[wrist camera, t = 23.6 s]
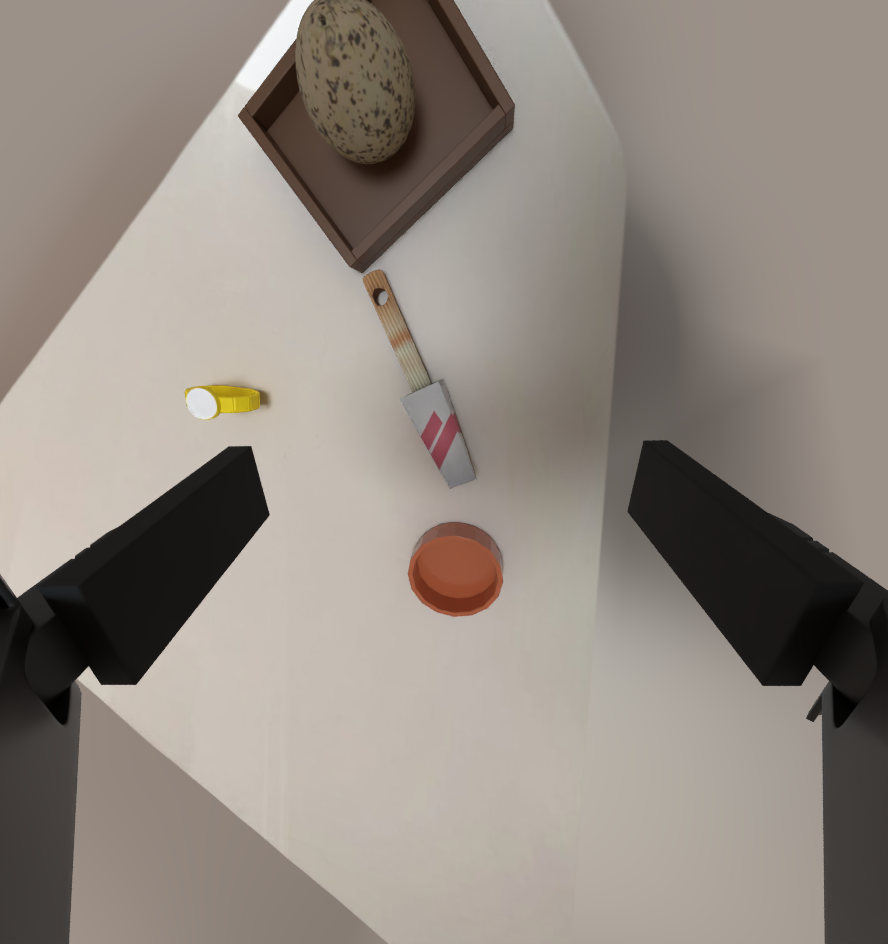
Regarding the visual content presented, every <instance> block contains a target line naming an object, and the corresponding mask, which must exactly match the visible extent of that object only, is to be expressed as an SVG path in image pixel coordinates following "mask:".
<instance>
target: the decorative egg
mask: <svg viewBox="0 0 888 944" xmlns="http://www.w3.org/2000/svg"><path fill="white" fill-rule="evenodd" d="M295 61H296V73H297V80H298V85H299V89H300V93H301V96H302V100H303V103H304V105H305V108H306V111H307V113H308V115H309V117H310V119H311V121H312V123H313V124H314V126H315V128H316V129H317V131H318V132H319V133H320V135H321V136H322V138H323V139H324V140H325V141H326V143H327V144H329V145H330V146H331V147H332V148H333V149H334V150H335V151H336V152H338V153H339V154H340V155H342V156H343V157H345V158H347V159H349V160H351V161H354V162H357V163H362V164H375V163H379V162H382V161H385V160H387V159H388V158H390V157H391V156H393V155H394V154H395V153H396V152H397V151H398V150H399V149H400V148H401V146H402V145H403V144H404V142H405V140H406V138H407V136H408V134H409V132H410V130H411V126H412V123H413V118H414V113H415V83H414V76H413V72H412V68H411V64H410V60H409V57H408V55H407V52H406V50H405V47H404V45H403V43H402V41H401V39H400V37H399V36H398V34H397V32H396V31H395V29H394V28H393V26H392V25H391V24H390V22H389V21H388V20H387V19H386V17H385V16H384V15H383V14H382V13H381V12H380V11H379V10H378V9H376V8H375V7H374V6H373V5H372V4H370V3H369V2H367V1H366V0H314V1H313V2H312V3H311V4H310V5H309V7H308V8H307V10H306V11H305V13H304V15H303V17H302V19H301V22H300V25H299V28H298V33H297V39H296V50H295Z"/></svg>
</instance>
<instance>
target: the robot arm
mask: <svg viewBox="0 0 888 944" xmlns="http://www.w3.org/2000/svg"><path fill="white" fill-rule="evenodd" d="M628 513H629V514H630V516H631V517H632V518H633V519H634V521H635V522H636V523H637V524H638V526H639V527H640V528H641V530H642V531H643V532H644V534H645V535H646V536H647V537H648V539H649V540H650V541H651V543H652V544H653V545H654V546H655V548H656V549H657V550H658V552H659V553H660V554H661V555H662V557H663V558H664V559H665V561H666V562H667V563H668V564H669V566H670V567H671V568H672V569H673V571H674V572H675V573H676V575H677V576H678V577H679V579H680V580H681V581H682V582H683V584H684V585H685V586H686V588H687V589H688V590H689V591H690V593H691V594H692V595H693V597H694V598H695V599H696V601H697V602H698V603H699V604H700V606H701V607H702V608H703V609H704V611H705V612H706V613H707V615H708V616H709V617H710V618H711V620H712V621H713V622H714V624H715V625H716V626H717V628H718V629H719V630H720V631H721V633H722V634H723V635H724V637H725V638H726V639H727V640H728V642H729V643H730V644H731V645H732V647H733V648H734V649H735V651H736V652H737V653H738V654H739V656H740V657H741V658H742V660H743V661H744V662H745V664H746V665H747V666H748V667H749V669H750V670H751V671H752V673H753V674H754V675H755V676H756V678H757V679H758V680H759V682H760V683H761V684H762V685H763V686H801V685H802V683H803V682H804V680H805V678H806V677H807V675H808V674H809V672H810V670H811V669H812V667H813V665H814V666H815V667H816V668H817V669H818V670H819V671H820V672H821V673H822V674H823V675H824V676H825V677H826V678H827V679H828V680H829V682H828V684H827V685H826V687H825V688H824V690H823V691H822V693H821V694H820V696H819V697H818V699H817V700H816V702H815V703H814V705H813V706H812V708H811V709H810V711H809V713H808V715H807V718H806V719H808V720H810V721H812V722H814V720H815V719H816V718H817V716H818V715H821V714H822V745H823V746H822V747H823V749H822V750H823V751H822V752H823V830H824V831H823V834H824V909H825V910H824V913H825V914H824V915H825V916H824V918H825V944H888V590H886V589H885V588H883V587H882V586H880V585H879V584H878V583H876V582H875V581H873V580H872V579H870V578H869V577H868V576H866V575H865V574H863V573H862V572H860V571H859V570H858V569H856V568H855V567H853V566H852V565H850V564H849V563H847V562H846V561H845V560H843V559H842V558H841V557H839V556H837V555H836V554H835V553H833V552H831V553H830V552H829V549H828V548H826V547H825V546H823V545H822V544H820V543H819V542H818V541H813V538H812V537H811V536H809V535H808V534H806V533H805V532H803V531H802V530H800V529H799V528H798V527H796V526H795V525H793V524H791V523H789V522H787V521H785V520H783V519H780V518H778V517H776V516H774V515H771V514H770V513H767V512H766V511H764V510H763V509H761V508H760V507H759V506H757V505H756V504H755V503H753V502H752V501H751V500H749V499H748V498H746V497H745V496H744V495H742V494H741V493H739V492H738V491H737V490H735V489H734V488H732V487H731V486H729V485H728V484H727V483H726V482H724V481H723V480H721V479H720V478H718V477H717V476H716V475H714V474H713V473H711V472H710V471H709V470H707V469H706V468H704V467H703V466H702V465H701V464H699V463H698V462H696V461H695V460H694V459H692V458H691V457H689V456H688V455H687V454H685V453H684V452H683V451H681V450H680V449H678V448H677V447H676V446H674V445H673V444H671V443H670V442H669V441H666V440H665V441H663V440H660V441H643V446H642V450H641V454H640V459H639V463H638V468H637V472H636V476H635V481H634V485H633V489H632V494H631V499H630V503H629V507H628ZM269 515H270V514H269V511H268V507H267V503H266V500H265V496H264V492H263V488H262V485H261V481H260V477H259V473H258V470H257V466H256V462H255V459H254V455H253V451H252V447H251V446H232V447H228V448H226V449H225V450H223V451H222V452H221V453H219V454H218V455H217V456H215V457H214V458H213V459H211V460H210V461H208V462H207V463H206V464H204V465H203V466H202V467H200V468H199V469H197V470H196V471H195V472H193V473H192V474H191V475H189V476H188V477H186V478H185V479H184V480H182V481H181V482H180V483H178V484H177V485H176V486H174V487H173V488H171V489H170V490H169V491H167V492H166V493H165V494H163V495H162V496H160V497H159V498H158V499H156V500H155V501H154V502H152V503H151V504H149V505H148V506H147V507H145V508H144V509H143V510H141V511H140V512H139V513H137V514H136V515H134V516H133V517H132V518H130V519H129V520H128V521H126V522H125V523H123V524H122V525H121V526H119V527H117V528H115V529H113V530H111V531H109V532H108V533H106V534H105V535H104V536H102V537H101V538H99V539H98V540H97V541H95V542H94V543H92V544H91V545H90V548H86V549H84V550H83V551H81V552H80V553H79V554H77V555H76V556H75V559H70V560H69V561H68V562H66V563H65V564H63V565H62V566H61V567H59V568H58V569H56V570H55V571H54V572H52V573H51V574H50V575H48V576H47V577H45V578H44V579H43V580H41V581H40V582H39V583H37V584H36V585H34V586H33V587H32V588H30V589H29V590H27V591H26V592H25V593H23V594H22V595H21V596H19V597H18V598H17V597H16V596H15V595H14V593H13V592H12V590H11V589H10V587H9V586H8V585H7V583H6V582H5V580H4V579H3V577H2V576H1V575H0V944H69V932H70V912H71V892H72V891H71V890H72V871H73V850H74V831H75V812H76V793H77V772H78V753H79V733H80V713H81V691H80V688H79V686H78V685H77V683H76V682H75V680H76V679H77V678H78V677H79V676H80V675H81V674H82V673H83V671H84V670H85V669H86V668H87V667H88V666H89V667H90V669H91V670H92V672H93V673H94V675H95V676H96V678H97V679H98V681H99V682H100V684H101V685H136V684H137V683H138V682H139V681H140V679H141V678H142V677H143V675H144V674H145V673H146V672H147V670H148V669H149V668H150V667H151V665H152V664H153V663H154V661H155V660H156V659H157V658H158V656H159V655H160V654H161V653H162V651H163V650H164V649H165V647H166V646H167V645H168V644H169V642H170V641H171V640H172V639H173V637H174V636H175V635H176V633H177V632H178V631H179V630H180V628H181V627H182V626H183V625H184V623H185V622H186V621H187V620H188V618H189V617H190V616H191V614H192V613H193V612H194V611H195V609H196V608H197V607H198V606H199V604H200V603H201V602H202V600H203V599H204V598H205V597H206V595H207V594H208V593H209V592H210V590H211V589H212V588H213V586H214V585H215V584H216V583H217V581H218V580H219V579H220V578H221V576H222V575H223V574H224V572H225V571H226V570H227V569H228V567H229V566H230V565H231V564H232V562H233V561H234V560H235V558H236V557H237V556H238V555H239V553H240V552H241V551H242V550H243V548H244V547H245V546H246V544H247V543H248V542H249V541H250V539H251V538H252V537H253V536H254V534H255V533H256V532H257V530H258V529H259V528H260V527H261V525H262V524H263V523H264V522H265V520H266V519H267V518H268V516H269Z"/></svg>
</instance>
